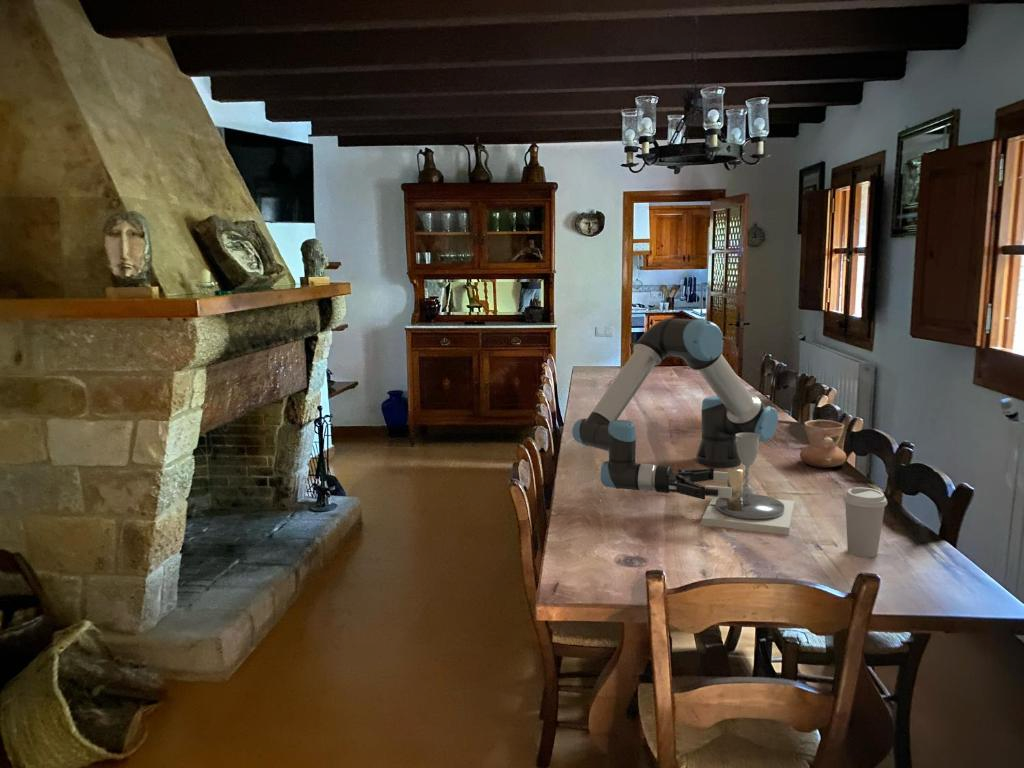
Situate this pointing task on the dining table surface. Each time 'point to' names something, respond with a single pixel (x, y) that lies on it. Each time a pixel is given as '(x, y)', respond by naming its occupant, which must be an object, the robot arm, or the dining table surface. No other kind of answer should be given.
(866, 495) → the coffee cup
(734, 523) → the dial board
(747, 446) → the chalice
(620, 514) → the dining table surface
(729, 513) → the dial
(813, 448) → the ceramic jug
